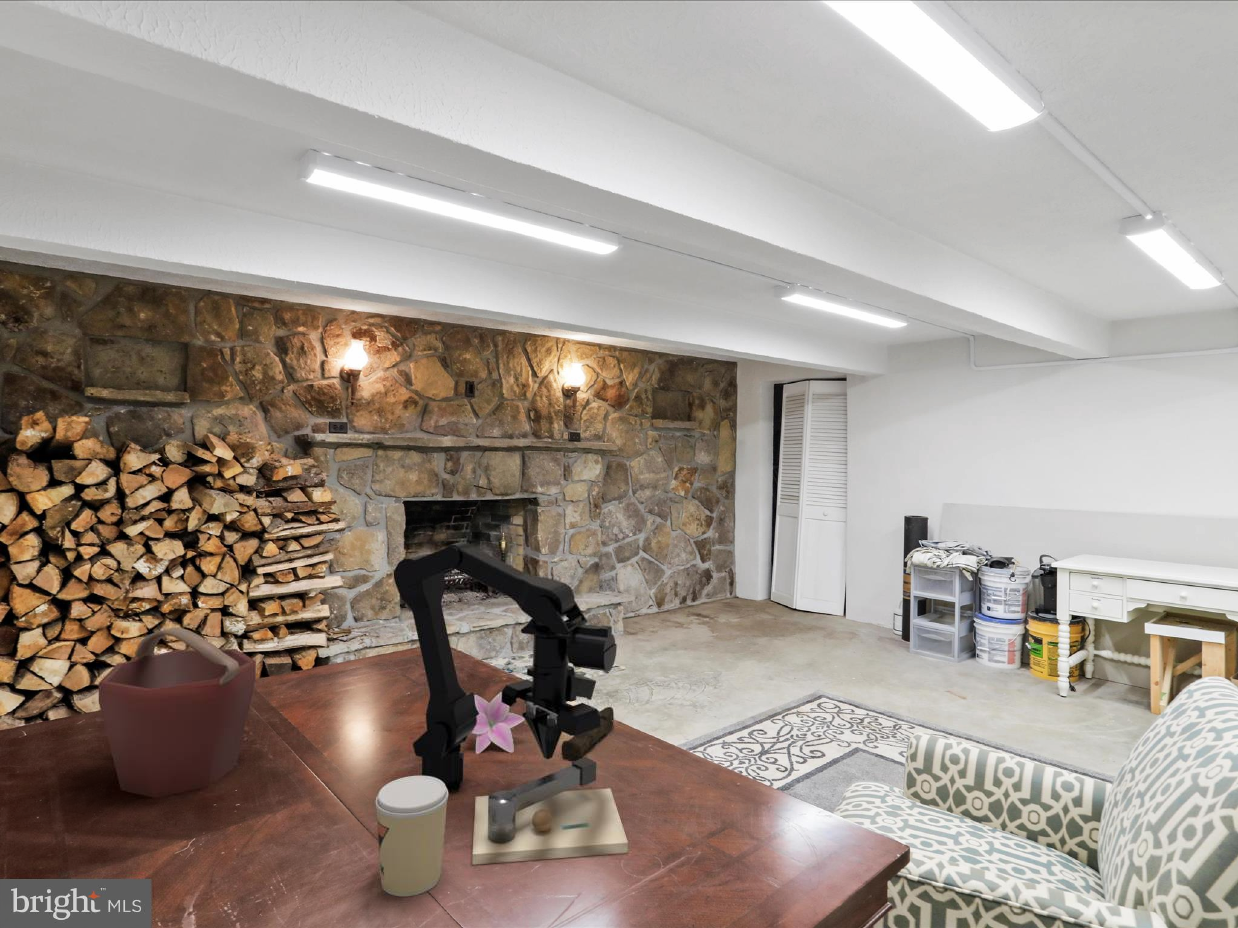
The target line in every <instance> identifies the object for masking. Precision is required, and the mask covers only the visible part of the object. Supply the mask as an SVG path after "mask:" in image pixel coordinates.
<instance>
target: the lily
mask: <svg viewBox="0 0 1238 928" xmlns="http://www.w3.org/2000/svg"><path fill="white" fill-rule="evenodd" d="M474 696H475V705H476V708H477V710H478V712H479V715H477V716H476V717H477V724H476V726H475V728H474V729H473V731H472V732H471V733H470V734H475V735H476V739H475V741H476V742H475V754H477V755H478V754H481V753H482V752H483V751H484V750H485V749H486V748H487V747H488V746H490V744H491V743H493V744H495V745H496V746H498V747H500V748H501V749H503V750H504V751H506V752H509V753H511V754H512V753H514V751H515V748H514V747H515V746H514V740H513V735H512V730H511V728H514V727H515V726H517V725H519V724H521V723H522V722H524V721H526V719H525V718H523V716H522V715H519V714H516V713H512V712H509V711H510V706H508V705H506V704H504V703H502V691H500V692H499V693H498V694H497V695H496V696H495V697H493V699H492V700H491V701H489V702H488V701H487V700H486V699H484V698H483V697H481V696H480V695H477V694H474Z"/></svg>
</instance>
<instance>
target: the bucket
mask: <svg viewBox="0 0 1238 928" xmlns="http://www.w3.org/2000/svg"><path fill="white" fill-rule="evenodd" d="M165 636H169V637H173V638H174V639H177V640H179V641H181V642H183V643H184V644H186V645H187V646H188V647H189V648H190V649H176V650H175V649H174V650H172V651H167V652H163V653H157V654H155V653H154V650H155V649H156V646H157V645H158V643H159V642H160V640H161V639H162V638H164V637H165ZM191 648H192V649H191ZM134 658H135V659H132V660H129V661H124V662H120V663H117V664H116V665H115V666H114V667H112V669H111V670H110V671H109V672H108V673H107V674H106V675H105V676H104V677H103V678H102V679H101V680H100V681H99V682H98V705H99V709H100V713H101V717H102V720H103V724H104V728H105V731H106V736H107V740H108V744H109V748H110V753H111V756H112V760H113V764H114V768H115V771H116V772H115V773H116V775H117V776H116V777H117V780H118V784H119V787H120V790H121V791H123V792H127V793H132V794H137V795H141V796H144V797H145V796H146V797H150V798H154V799H156V798H162V797H166V796H171V795H176V794H180V793H184V792H189V791H194V790H198V789H203V788H208V787H210V786H211V785H213V784H214V783H216V782H217V781H218V780H219V779H221V778H222V777H223V776H225V775H226V774H227V773H228V772H230V771H231V770H233V769H234V768H236V767H237V763H238V759H239V756H240V755H239V754H240V751H241V746H242V741H243V737H244V732H245V727H246V723H247V719H248V714H249V711H250V705H251V702H252V695H253V692H254V687H255V683H256V679H257V661H256V660H255V659H253V658H251V657H250V656H249V655H247V654H245V653H243V652H242V651H240V650H238V649H236V648H218V646H217V645H215V644H213V643H212V642H210V641H209V640H206V639H205V638H203V637H202V636H200V635H199V634H197V633H196V632H193V631H191V630H189V629H185V628H183V627H171V628H167V629H162V630H158V631H156V632H153V633H150V634H148V635H147V636H145V637H143V639H141V640H140V642H139V644H138V645H137V648H136V649H135V652H134Z"/></svg>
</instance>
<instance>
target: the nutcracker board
mask: <svg viewBox="0 0 1238 928" xmlns="http://www.w3.org/2000/svg"><path fill="white" fill-rule="evenodd" d="M489 796H490V795H483V796H475V802H474V803H475V805H474V806H475V807H474V823H473V840H472V841H473V843H472V860H471V861H472V862H471V863H472V865H473V866H475V865H486V864H487V865H488V864H489V865H490V864H499V863H512V862H513V863H515V862H525V861H526V862H528V861H538V860H539V861H541V860H551V859H563V858H564V859H565V858H576V857H577V858H578V857H591V856H604V855H606V856H607V855H616V854H619V855H620V854H627V853H629V852H628V851H629V842H628V839H627V836H626V833H625V829H624V826H623V824H622V821H621V817H620V814H619V812H618V808H617V805H616V801H615V798H614V795H613V793H612V790H611V788H597V789H596V788H595V789H579V790H566V791H564V792H561V793H559V794H557V795H555V796H552V797H550V798H548V799H545V800H543V801H541V802H539V803H536V804H534V805H532V806H529V807H527V808H525V809H522V810H520V811H518V812H516V829H515V837H514V838H513V839H512V840H510V841H507V842H503V843H497V842H493V841H491V840H489V839H488V797H489Z"/></svg>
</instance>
